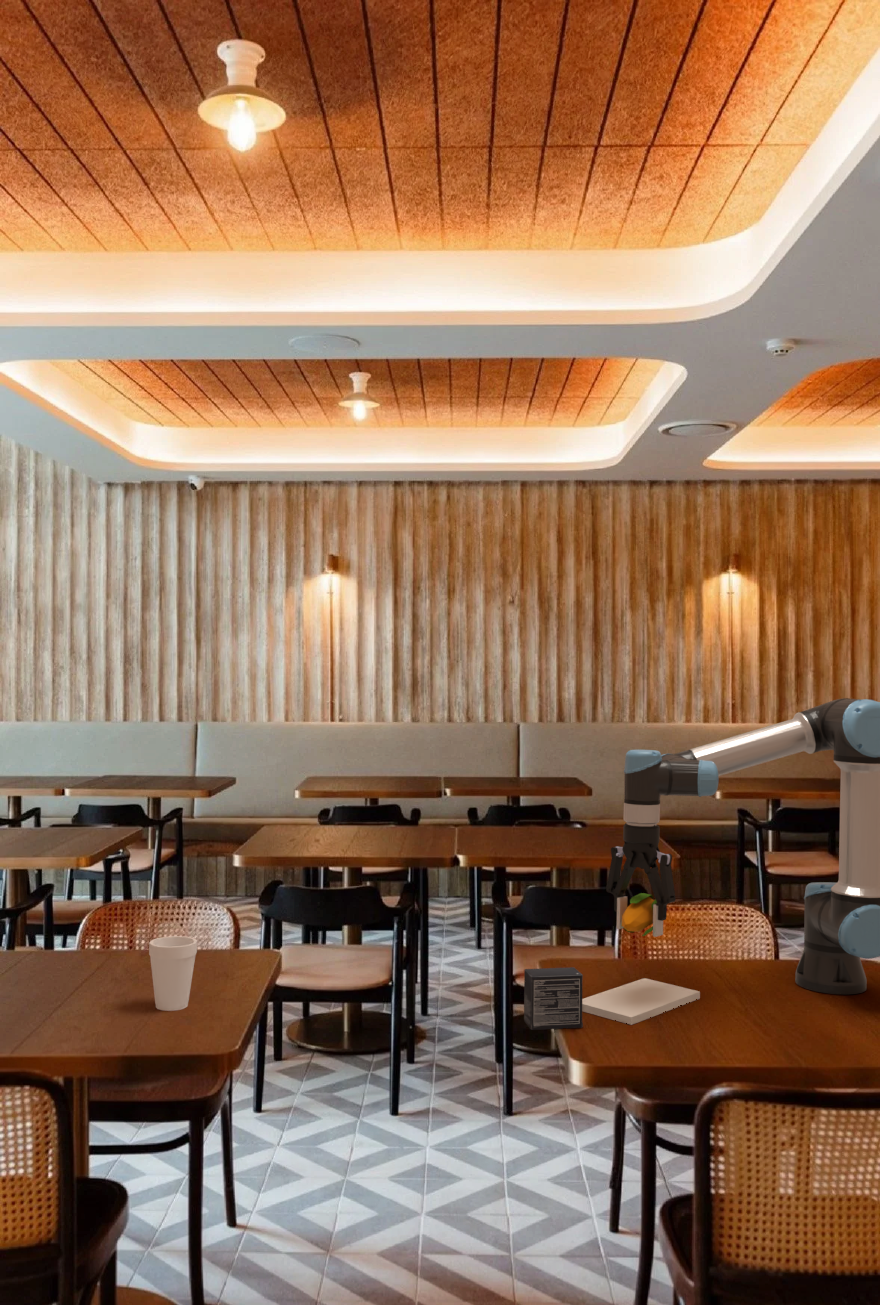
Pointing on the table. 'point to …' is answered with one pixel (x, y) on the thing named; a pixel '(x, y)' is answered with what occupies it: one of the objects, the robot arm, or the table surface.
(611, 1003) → the platter
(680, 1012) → the table surface
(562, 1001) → the small box
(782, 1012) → the table surface
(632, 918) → the mango
